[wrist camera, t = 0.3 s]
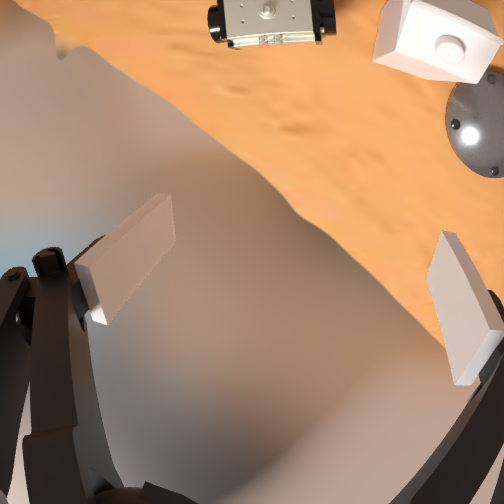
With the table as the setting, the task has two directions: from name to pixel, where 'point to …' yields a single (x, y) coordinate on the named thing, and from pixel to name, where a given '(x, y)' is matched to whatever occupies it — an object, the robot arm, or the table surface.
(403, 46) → the milk carton
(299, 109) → the table surface
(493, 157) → the duct flange
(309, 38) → the pneumatic valve
